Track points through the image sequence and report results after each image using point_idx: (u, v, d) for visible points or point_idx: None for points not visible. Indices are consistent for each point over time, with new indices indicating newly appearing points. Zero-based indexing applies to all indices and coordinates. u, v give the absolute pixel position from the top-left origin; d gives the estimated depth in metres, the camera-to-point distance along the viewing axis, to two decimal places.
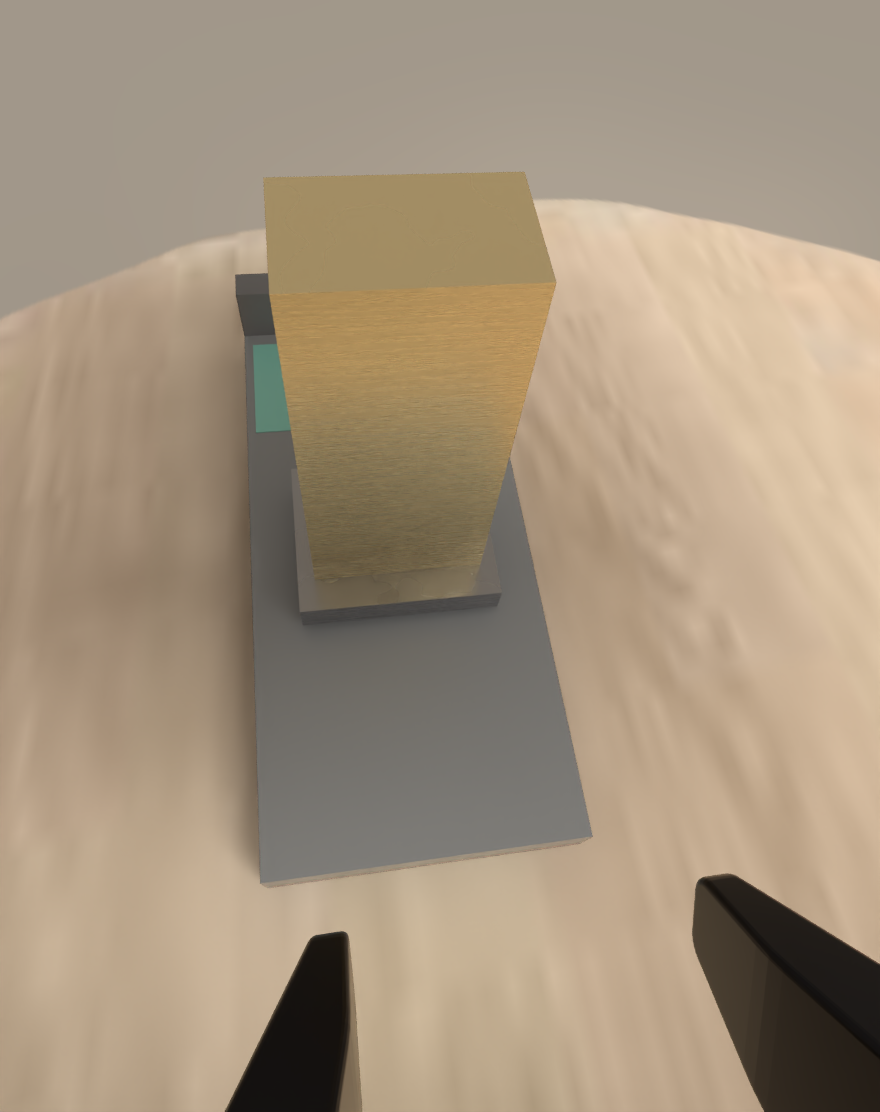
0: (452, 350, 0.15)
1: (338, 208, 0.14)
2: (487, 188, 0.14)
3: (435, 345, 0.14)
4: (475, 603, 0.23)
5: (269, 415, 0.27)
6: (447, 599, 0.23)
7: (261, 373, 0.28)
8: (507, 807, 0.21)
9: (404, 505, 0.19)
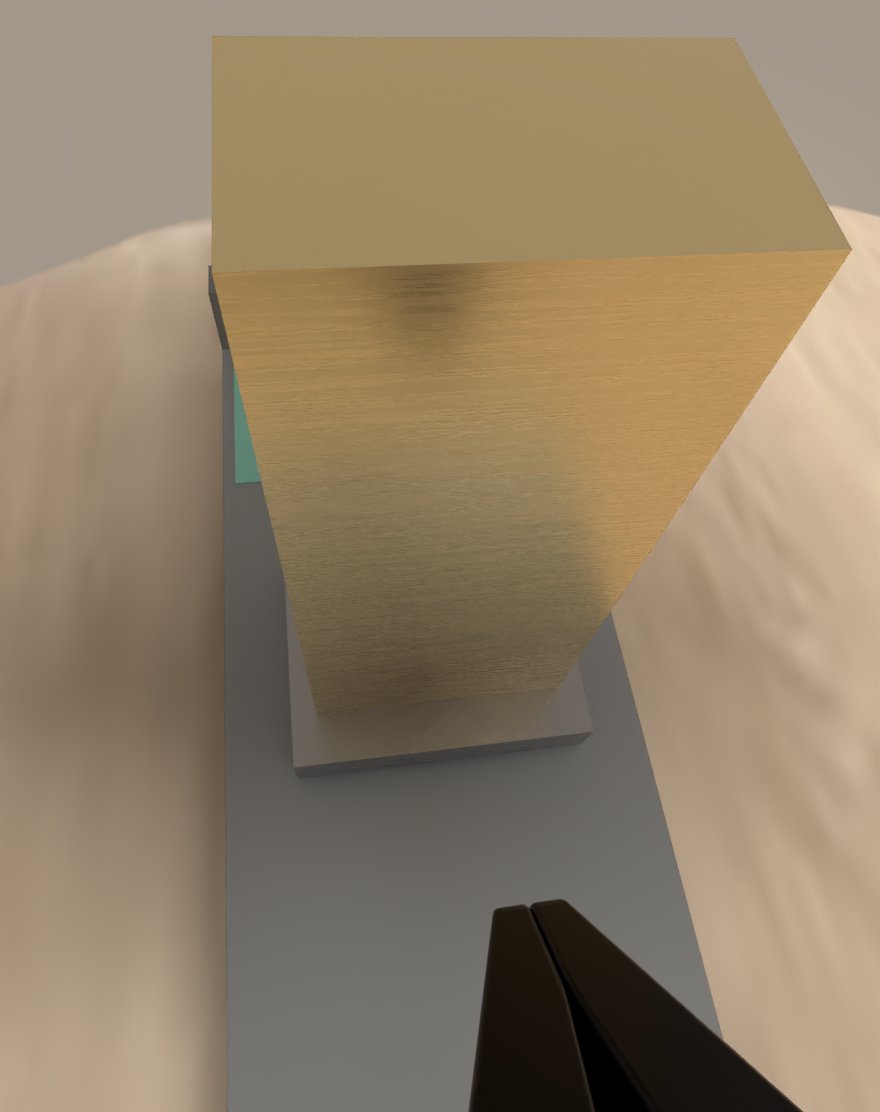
0: (596, 391, 0.07)
1: (369, 95, 0.07)
2: (668, 65, 0.07)
3: (564, 383, 0.07)
4: (552, 743, 0.16)
5: (254, 459, 0.19)
6: (513, 742, 0.15)
7: None
8: None
9: (460, 627, 0.12)
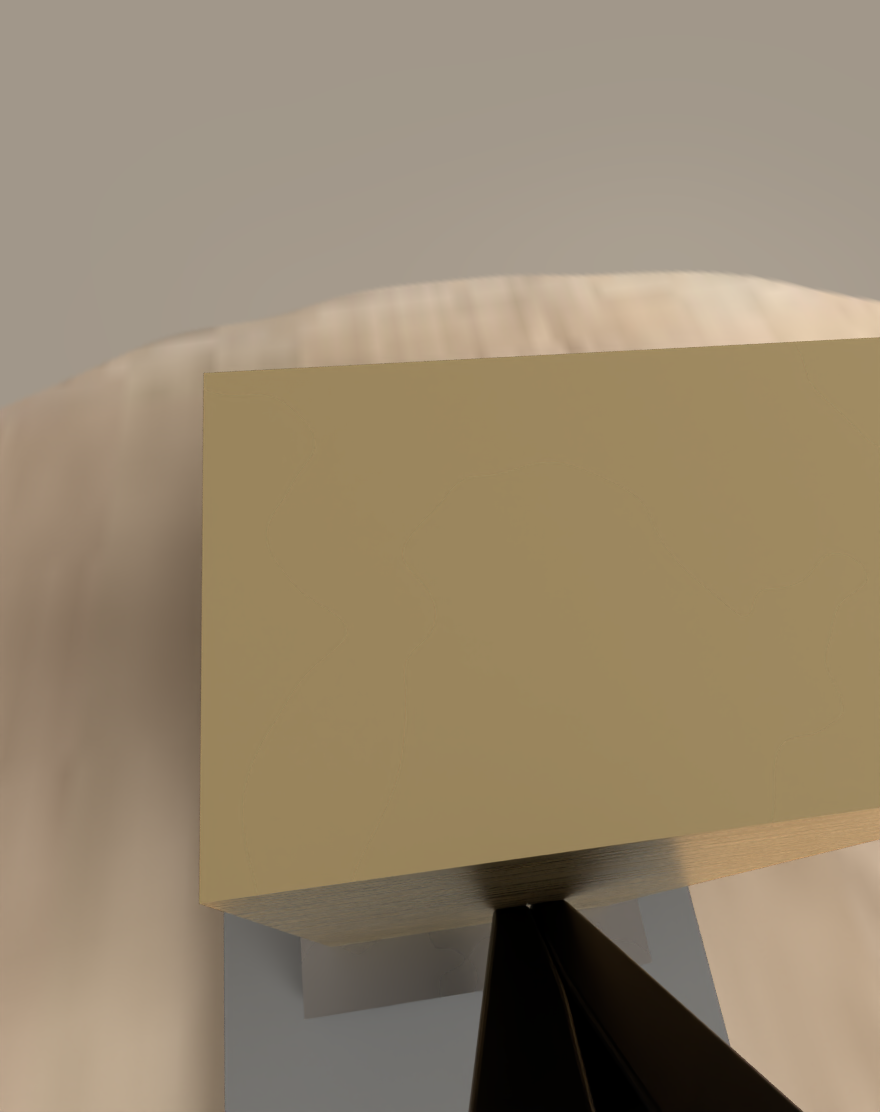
0: (748, 848, 0.05)
1: (436, 479, 0.04)
2: (855, 391, 0.05)
3: (709, 852, 0.05)
4: None
5: None
6: None
7: None
8: None
9: None
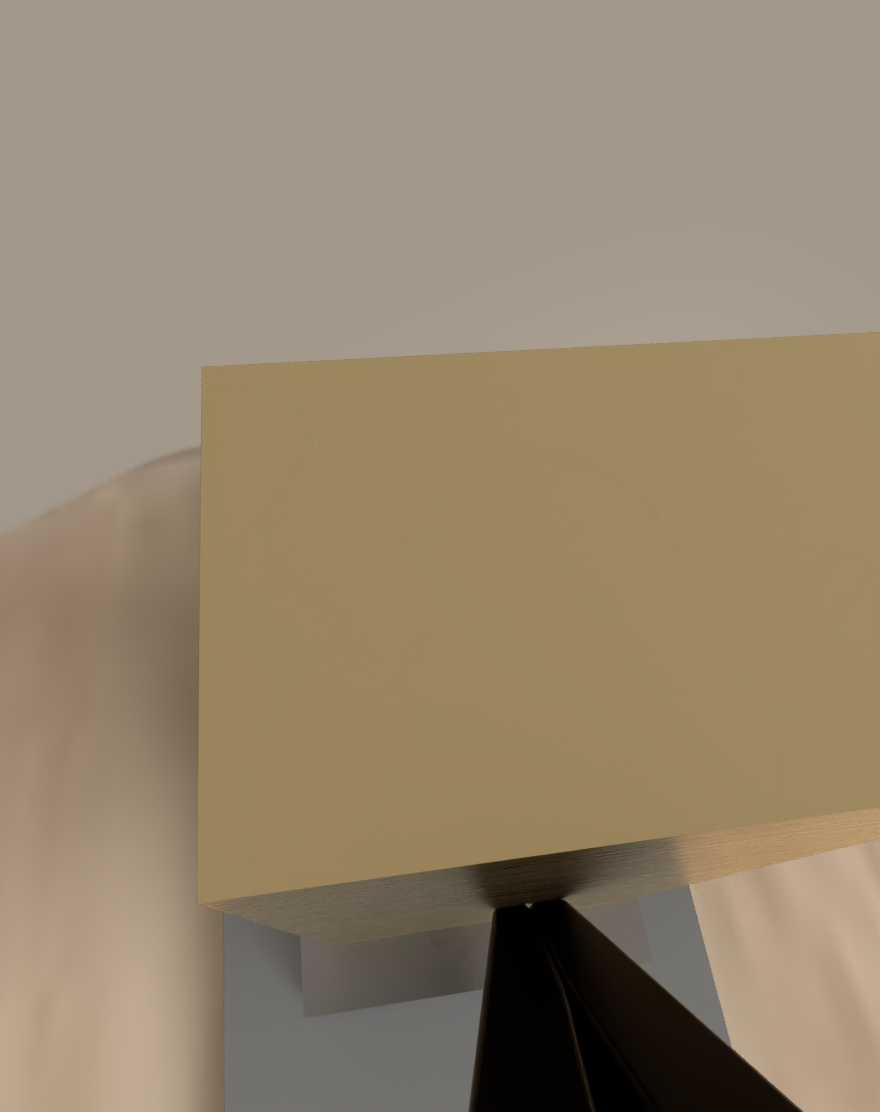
0: (752, 847, 0.05)
1: (437, 475, 0.04)
2: (860, 386, 0.05)
3: (711, 852, 0.05)
4: None
5: None
6: None
7: None
8: None
9: None
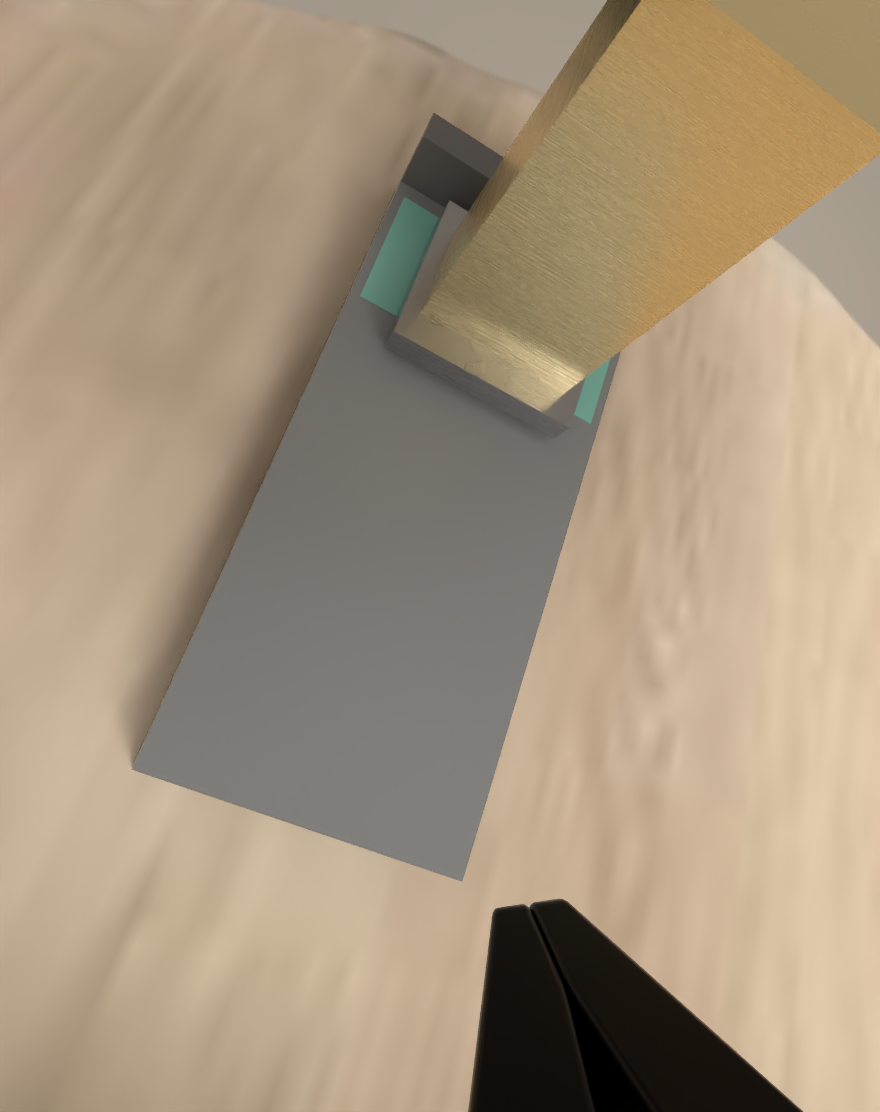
0: (750, 151, 0.14)
1: None
2: (878, 19, 0.14)
3: (742, 135, 0.14)
4: (539, 423, 0.23)
5: (382, 285, 0.23)
6: (522, 404, 0.23)
7: (396, 234, 0.24)
8: (401, 815, 0.20)
9: (562, 287, 0.19)
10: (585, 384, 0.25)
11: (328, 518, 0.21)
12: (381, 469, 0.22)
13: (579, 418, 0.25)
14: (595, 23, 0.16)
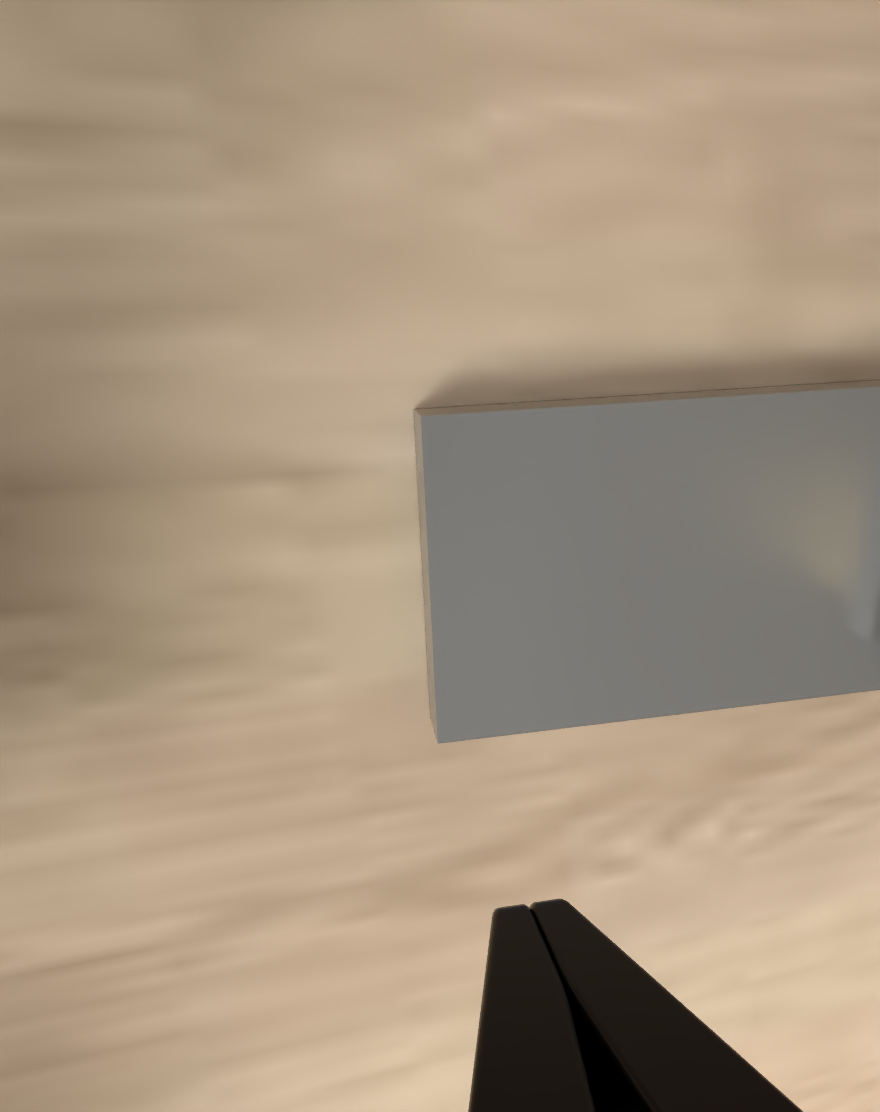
0: None
1: None
2: None
3: None
4: None
5: None
6: None
7: None
8: (473, 666, 0.20)
9: None
10: None
11: (716, 473, 0.20)
12: (785, 499, 0.20)
13: None
14: None
